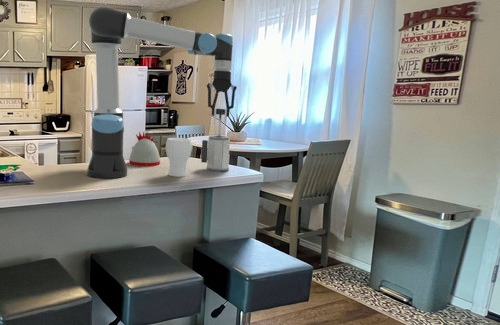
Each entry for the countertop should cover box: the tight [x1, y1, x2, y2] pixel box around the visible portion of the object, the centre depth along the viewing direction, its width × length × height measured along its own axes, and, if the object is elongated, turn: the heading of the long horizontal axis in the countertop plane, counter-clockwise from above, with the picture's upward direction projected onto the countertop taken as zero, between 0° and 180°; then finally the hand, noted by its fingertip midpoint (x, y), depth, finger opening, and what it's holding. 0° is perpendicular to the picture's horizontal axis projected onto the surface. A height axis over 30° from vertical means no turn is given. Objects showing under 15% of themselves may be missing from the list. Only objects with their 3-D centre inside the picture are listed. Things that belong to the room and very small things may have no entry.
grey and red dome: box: [128, 131, 161, 167], centre depth 204 cm, size 14×14×15 cm
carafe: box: [200, 135, 231, 173], centre depth 201 cm, size 12×10×15 cm
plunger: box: [215, 108, 226, 137], centre depth 199 cm, size 6×6×19 cm
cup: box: [165, 137, 193, 178], centre depth 183 cm, size 11×11×15 cm
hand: (220, 123), depth 198 cm, fingers closed on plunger, 4 cm apart
